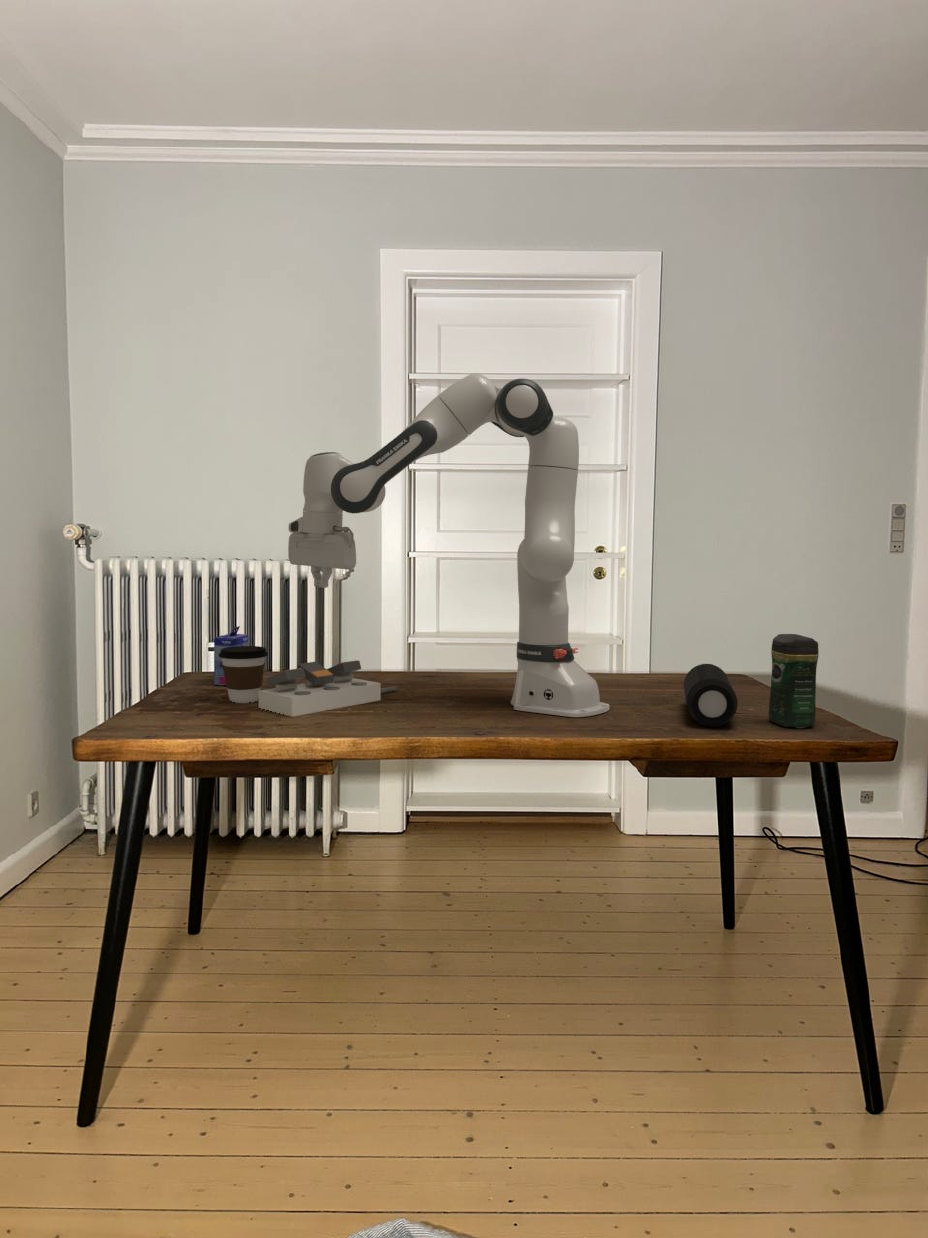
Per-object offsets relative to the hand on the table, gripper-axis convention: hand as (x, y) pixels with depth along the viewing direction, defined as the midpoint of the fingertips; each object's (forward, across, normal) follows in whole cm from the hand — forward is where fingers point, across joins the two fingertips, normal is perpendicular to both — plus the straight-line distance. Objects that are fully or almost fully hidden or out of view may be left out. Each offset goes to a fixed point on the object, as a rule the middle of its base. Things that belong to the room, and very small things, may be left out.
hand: (321, 587), depth 199 cm
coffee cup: (+27, +13, +11) cm, 32 cm away
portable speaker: (+24, -72, -48) cm, 90 cm away
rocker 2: (+19, -1, +2) cm, 20 cm away
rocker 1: (+20, -1, +10) cm, 22 cm away
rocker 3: (+19, -1, -6) cm, 20 cm away
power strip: (+26, -3, -4) cm, 26 cm away
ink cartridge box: (+27, +35, 0) cm, 44 cm away
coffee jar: (+23, -88, -53) cm, 105 cm away
